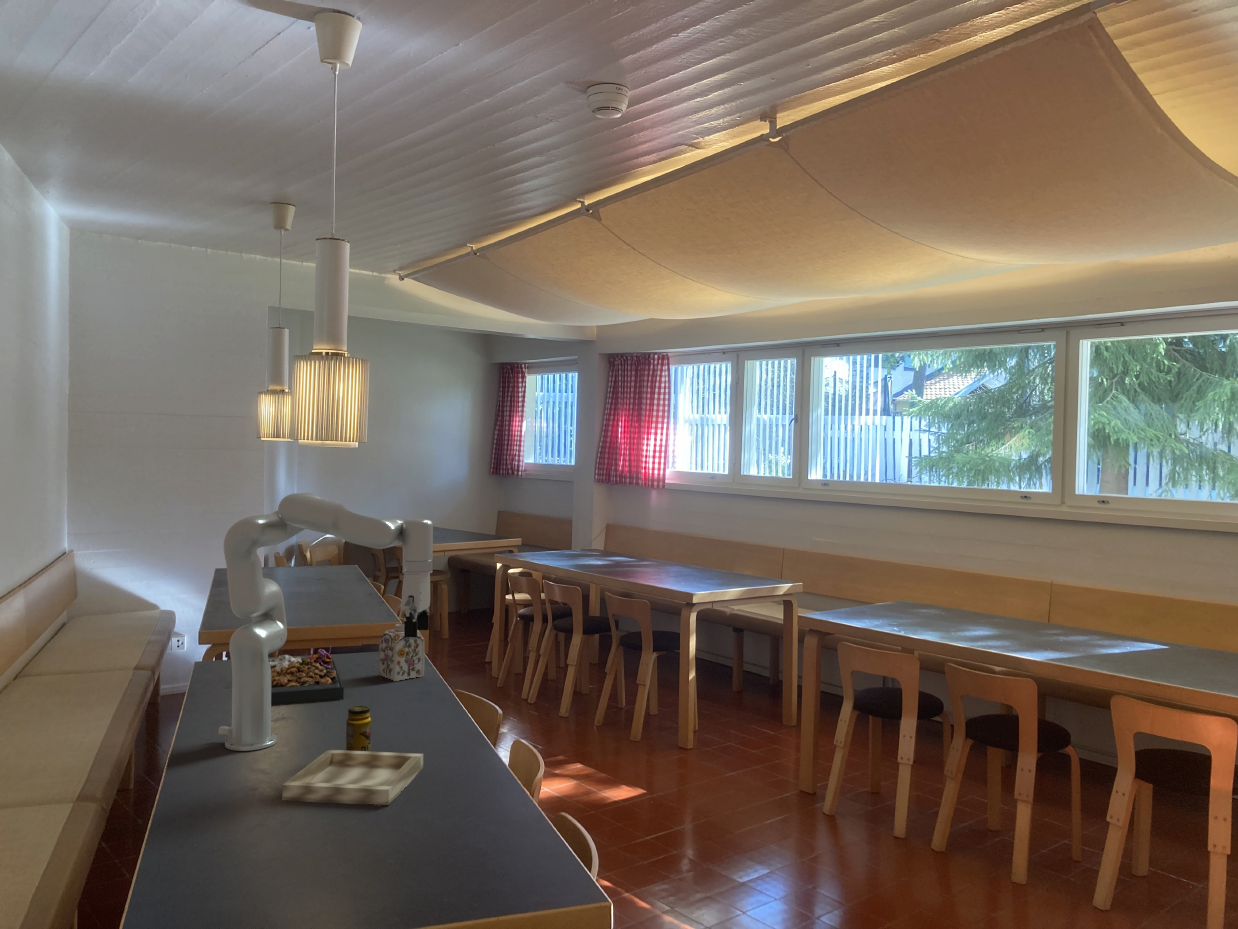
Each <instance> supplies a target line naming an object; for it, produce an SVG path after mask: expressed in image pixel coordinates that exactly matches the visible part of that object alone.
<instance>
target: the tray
mask: <svg viewBox="0 0 1238 929" xmlns="http://www.w3.org/2000/svg"><path fill="white" fill-rule="evenodd" d="M423 769H424V753H413V752H411V753H410V752H407V753H406V752H392V751H391V752H387V751H347V750H346V749H345V750H344V749H342V750H341V749H327V750H325V751H324V752H323V753H322V754H321V755H319V756H317V757H316V759H314V760H313V761H311V762H310V763H309V764H307V765H306V766H305V767H304V768H302V769H301V770H299V771H298V772H297V773H296V774H294V775H293V776H292V777H290V778H289V779H288V780H286V781H285V782H284V783H283V784H282V790H281V791H282V792H281V793H282V794H281V795H282V796H281V798H282V799H281V800H290V801H289V802H303V803H304V802H305V803H324V804H343V805H345V804H346V805H347V804H348V805H363V804H364V805H365V804H366V805H365V806H368V805H367V804H375V805H374V806H379V805H378V804H382V805H389V804H390V803H391V802H392V801H393V800H394V799H395V798H396V799H397V798H398V796H400V794H401V793H402V792H403V791H404V790H405V789H406V788H405V787H407V786H408V785H410V783H411V782H412V781H413V780H414V779H415V778H416V777H417V776H418V775H419V773H420V772H421V771H422V770H423ZM404 788H405V789H404ZM401 791H402V792H401ZM396 799H395V800H396ZM395 800H394V801H395ZM394 801H393V802H394ZM393 802H392V803H393ZM392 803H391V804H392ZM376 804H377V805H376ZM391 804H390V805H391ZM390 805H389V806H390Z"/></svg>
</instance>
